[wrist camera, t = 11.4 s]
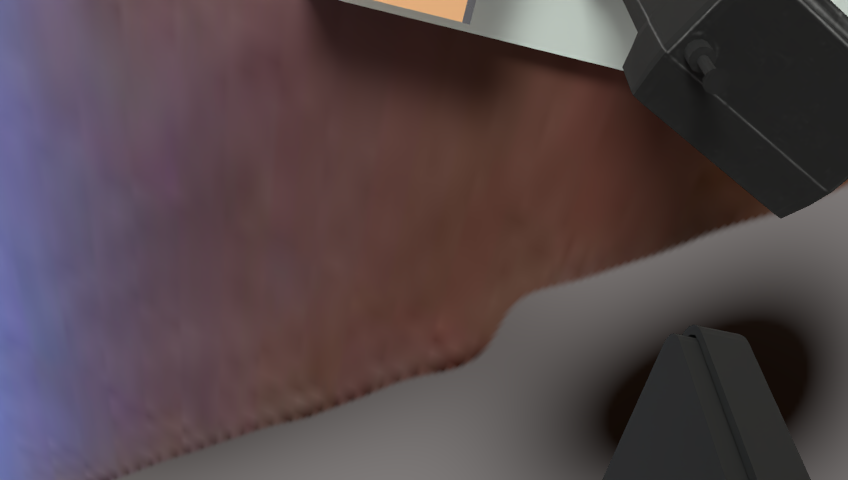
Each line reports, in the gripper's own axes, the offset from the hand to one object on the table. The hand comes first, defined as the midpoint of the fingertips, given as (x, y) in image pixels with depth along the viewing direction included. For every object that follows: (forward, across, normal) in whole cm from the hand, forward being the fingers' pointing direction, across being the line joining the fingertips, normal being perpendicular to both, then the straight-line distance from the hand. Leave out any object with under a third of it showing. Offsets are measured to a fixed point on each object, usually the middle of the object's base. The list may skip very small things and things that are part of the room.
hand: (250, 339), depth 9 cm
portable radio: (+38, -12, 0) cm, 40 cm away
